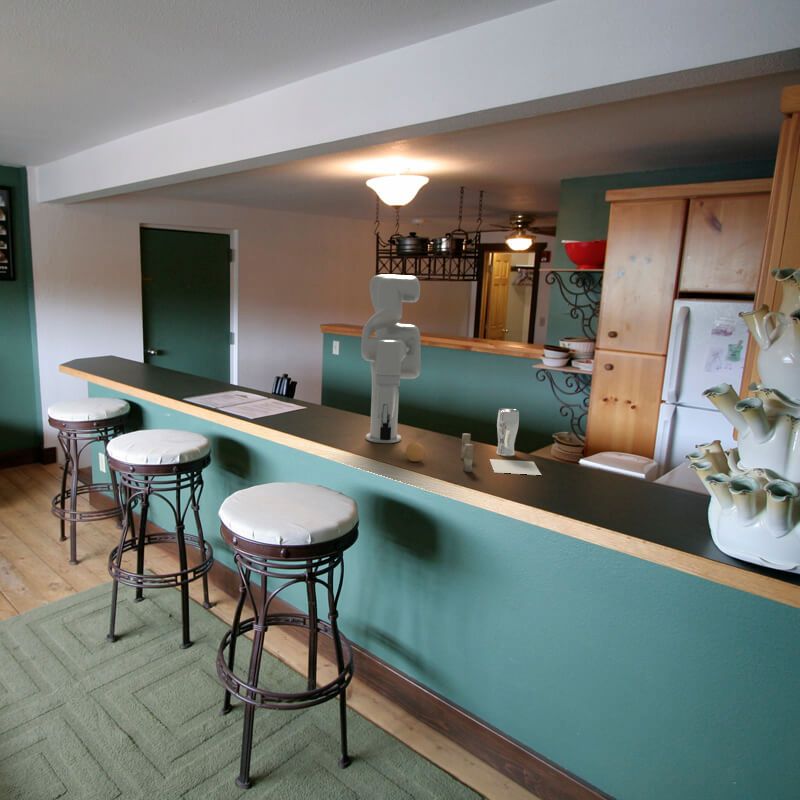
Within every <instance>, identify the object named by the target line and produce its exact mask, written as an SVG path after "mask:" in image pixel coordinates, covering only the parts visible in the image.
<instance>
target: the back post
mask: <svg viewBox="0 0 800 800" xmlns="http://www.w3.org/2000/svg"><path fill="white" fill-rule="evenodd" d="M471 435H472V434H471V433H462V436H461V438H462V439H461V449H460V459H461V460H464V448H465V444H471Z"/></svg>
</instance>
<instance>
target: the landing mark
mask: <svg viewBox="0 0 800 800" xmlns="http://www.w3.org/2000/svg"><path fill="white" fill-rule="evenodd" d="M489 461H490V464H491V467H492V469H493V470H494V471H493V473H494V474H504V473H511V474H510V475H520V474H527V475H526V476H536V475H541V476H542V473H541V472H540V470H539V468H538V467H537V465H536V463H535V462H534V461H526V460H511V459H510V460H509V459H496V458H495V459H494V458H489ZM541 476H540V477H541Z"/></svg>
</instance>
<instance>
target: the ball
mask: <svg viewBox="0 0 800 800" xmlns="http://www.w3.org/2000/svg"><path fill="white" fill-rule="evenodd" d="M425 453H426V451H425V447H424V446H423V445H422V444H421V443H419V442H417V441H415V442H411V443H409V444H408V445H407V446H406V449H405V456H406V458H407V459H408V460H409V461H410V462H413V463H415V462H416V463H417V462H419V461H421V460H422V459H423V458H424V457H425Z"/></svg>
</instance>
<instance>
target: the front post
mask: <svg viewBox="0 0 800 800" xmlns="http://www.w3.org/2000/svg"><path fill="white" fill-rule="evenodd" d="M473 454H474V444H473V443H470V444H465V448H464V459H463V464H462V465H463V466H462V471H463V472H464V471H465V473H471V472H472V470H473V469H472V468H473V457H474V455H473Z"/></svg>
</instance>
